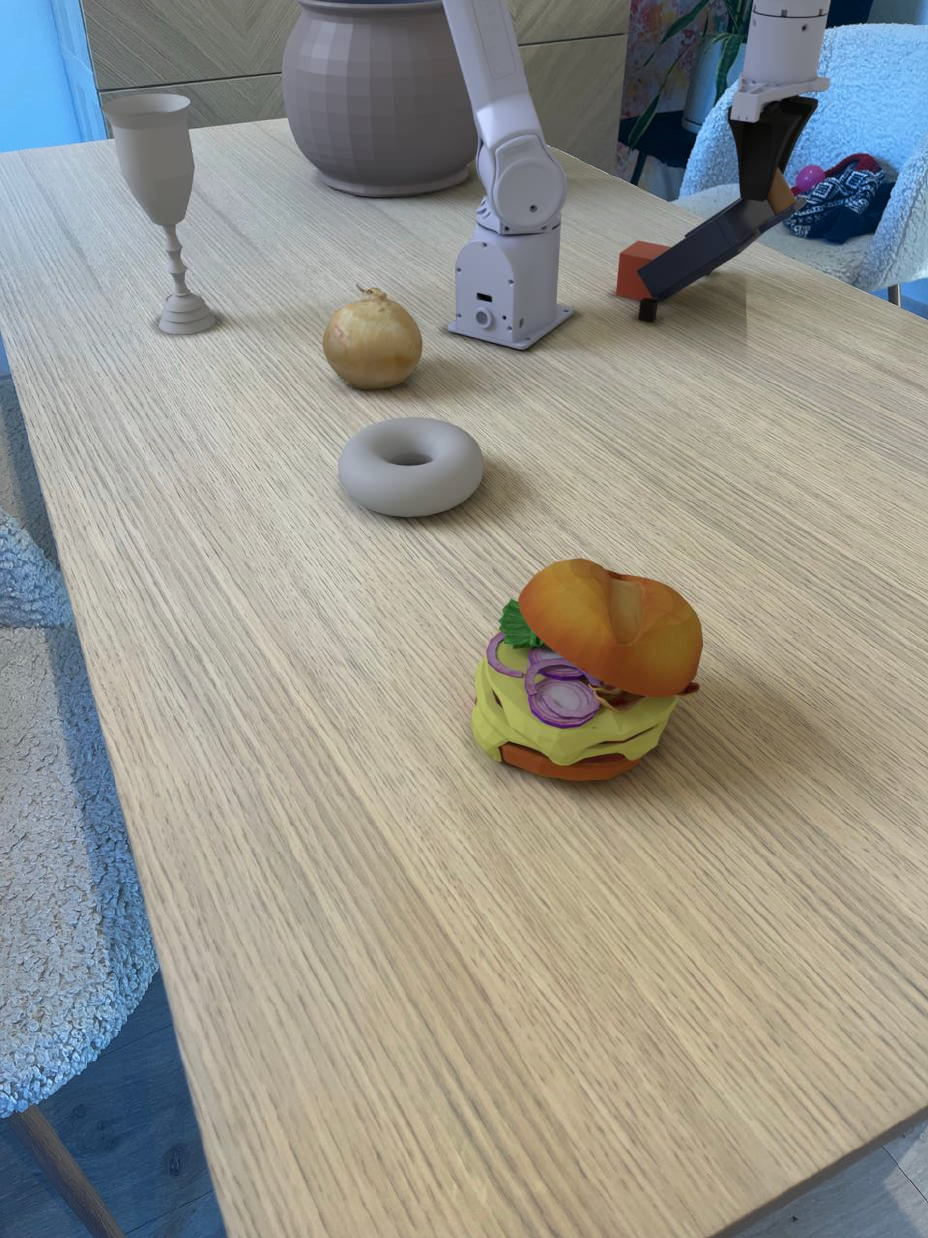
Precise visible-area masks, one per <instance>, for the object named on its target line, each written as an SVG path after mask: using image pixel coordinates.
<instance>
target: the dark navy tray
mask: <svg viewBox="0 0 928 1238" xmlns="http://www.w3.org/2000/svg"><path fill="white" fill-rule="evenodd" d="M807 203H808V201H807V198H806V197H805V196H802V197H800V198H799V199H798V200H797V198H796V196H795V195H794V193H793V191H792V189H791V187H790V185H789V183H788V182H787V180H786V178H785V177H784V175H782V173H781V171H780V169H779V168H778V167H777V170H776V174H775V177H774V180H773V183H772V186H771V189H770V191H769V194H768V196H767V198H766V200H765V201H763V202H761V201H755V200H749V199H743V198H741V197H740V196H739V198H737V199H736V200H735V201H732V202H731V203H730V204H728V205H727V206H725V207H724V208H722V209H721V210H719V211H718V212H716V213H714V214H713V215H712V216H710V217H708V219H706V220H704V221H703V222H702V223H700V224H699V225H697V226H695V227H694V228H693V229H691V230H690V231H688V232H687V233H685V234H684V235H683V236H684V238H683V239H681V240H680V241H679V242H677V243H675V244H674V245H672V246H670V247H671V248H670V249H668V250H667V251H665V252H664V253H662V254H661V255H659V256H658V257H656V258H655V259H653V260H652V261H650V262H649V263H647V264H646V265H644V266H643V267H641V268H640V269H638V270H637V273H638V274H639V276H640V278H641V279H642V281H643V283H644V284H645V286H646V288H647V289H648V291H649V293H650V294H651V296H652V299H653V300H658V305H660V304H661V303H663V302H664V301H666V300H668V299H669V298H671V297H673V296H674V295H676V294H678V293H679V292H681V291H682V290H683V289H687V287H689V286H690V285H692V284H694V283H695V282H697V281H699V280H700V279H701V278H703V277H705V276H706V274H708V273H710V272H711V273H712V272H714V271H715V270H716V269H717V268H719V267H721V266H723V265H724V264H726V263H727V262H729V261H730V260H732V259H734V258H735V257H737V256H739V255H740V254H741V253H742V252H744V250H746V249H747V248H749V246H750V245H752V244H753V243H754V242H755V241H757V240H758V239H759V238H760V237H761V236H762V235H764V234H765V233H766V232H768V231H769V230H770V229H772V228H774V227H775V226H777V225H778V224H780V223H782V222H783V221H785V220H787V219H788V218H790V217H791V216H793V215H794V214H797V212H798V211H800V210H801V209H802V208H804V206H805V205H806V204H807Z"/></svg>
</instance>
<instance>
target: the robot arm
mask: <svg viewBox="0 0 928 1238" xmlns="http://www.w3.org/2000/svg"><path fill="white" fill-rule="evenodd" d="M442 2H443V6H444V9H445V13H446V16H447V20H448V23H449V27H450V30H451V34H452V37H453V41H454V45H455V48H456V52H457V55H458V59H459V62H460V66H461V69H462V73H463V76H464V80H465V83H466V87H467V90H468V94H469V97H470V101H471V105H472V111H473V117H474V121H475V125H476V128H477V133H478V150H477V156H476V157H475V166H476V167H475V168H476V173H477V176H478V179H479V180H480V182H481V184H482V185H483V187H484V189H485V191H486V194H485V196H484V197H483V199H482V201H481V202H480V203H479V207H477V208H476V210H475V226H474V231H473V232H472V233H473V234H472V236H471V238H470V239H469V241H468V242H466V244H465V245H464V246H463V247H462V248H461V250H460V251H459V252H458V254H457V256H456V260H455V268H454V284H455V286H454V288H455V291H454V292H455V319H454V320H453V321H451V322H450V323H448V324H447V331H448V332H451V333H455V334H459V335H463V336H467V337H471V338H475V339H478V340H482V341H486V342H489V343H494V344H497V345H501V346H505V347H508V348H513V349H516V350H521V351H523V350H527V349H528V348H529V347H530V346H532V345H533V344H535V343H536V342H537V341H538V340H540V339H541V338H543V337H544V336H545V335H547V334H548V333H550V332H551V331H553V330H554V329H555V328H556V327H558V326H559V325H560V324H562V323H563V322H565V321H566V320H568V318H570V317H571V316H573V315H574V314H575V309H574V308H573V307H571V306H567V305H563V304H558V303H557V302H558V285H559V283H558V281H559V266H560V249H561V248H560V247H561V230H562V229H561V228H562V212H561V211H562V209H563V208H564V205H565V203H566V201H567V195H568V178H567V174H566V172H565V170H564V168H563V167H564V166H563V165H562V164H561V162H560V161H559V160H558V159H557V157H556V156H555V155H554V154H553V153H552V152H551V151H550V149H549V148H548V145H547V142H546V139H545V136H544V133H543V128H542V125H541V122H540V118H539V117H538V114H537V111H536V110H537V109H536V107H535V104H534V102H533V99H532V96H531V92H530V90H529V85H528V81H527V76H526V73H525V69H524V64H523V60H522V56H521V52H520V49H519V44H518V41H517V40H518V39H517V36H516V32H515V28H514V24H513V23H514V22H513V20H512V16H511V11H510V8H509V4H508V0H442ZM831 2H832V1H831V0H753V2H752V7H751V13H750V20H749V28H748V34H747V40H746V47H745V53H744V61H743V66H742V71H741V72H740V73H739V77H738V82H737V83H738V84H737V85H738V86H737V90H736V91H734V92H733V98H732V104H731V105H730V106H729V107H728V108H727V114H726V121H727V123H728V125H729V128H730V131H731V133H732V137H733V140H734V144H735V149H736V157H737V158H736V159H737V171H738V189H739V198H740V197H741V198H743V199H749V200H755V201H761V202H763V201H765V200H766V198H767V196H768V194H769V191H770V189H771V186H772V183H773V180H774V177H775V174H776V170H777V167H778V168H779V169H780V171H781V173H782V175H783V176H784V174H785V172H786V169H787V166H788V164H789V162H790V159H791V156H792V154H793V151H794V149H795V147H796V144H797V142H798V141H799V138H800V136H801V135H802V132H803V130H804V129H805V128H806V125H807V124H808V122H809V121H810V120H811V117H812V116H813V115H814V114H815V112H816V111H817V108H818V106H819V99H818V98H815V97H810V96H803V95H804V94H808V93H811V92H814V93H823V92H826V91H827V90H828V89H830V85H831V81H832V79H831V78H829V77H822V76H819V75H818V67H819V63H820V57H821V53H822V47H823V42H824V36H825V31H826V26H827V20H828V15H829V11H830V7H831V6H830V5H831Z"/></svg>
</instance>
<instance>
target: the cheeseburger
mask: <svg viewBox="0 0 928 1238" xmlns="http://www.w3.org/2000/svg"><path fill="white" fill-rule="evenodd" d="M501 611H502V614H503V615H502V616H501V617H500V618H499V619H498V622H499V624H500V626H499V628H498V631H497V632H495V634H494V635H493V636H492V638H491V639H490V640H489V643H488V645H487V648H486V650H485V655H484V656H483V657H482V659H481V660H480V661H479V662H478V665H477V667H476V671H475V674H474V692H475V699H474V707H473V708H472V712H471V713H472V714H471V720H470V721H471V724H470V727H471V731H472V734H473V737H474V741H475V743H477V744H478V745H479V746H480V747H481V748H482V750H483V751H484V752H485V753H486V754H487V755H488V756H489V757H490V759H491V760H493V761H495V762H497V763H499V764H500V763H501V762H502V759H503V761H505V762H506V763H507V764H510V765H513V766H515V767H517V768H520V769H523V770H524V771H527V772H530V773H531V774H535V775H537V776H540V777H541V776H542V777H547V778H553V779H561V780H566V781H573V782H580V781H598V780H599V781H601V780H602V781H603V780H605V781H606V780H611V779H612V778H615V777H617V776H619V775H621V774H623V773H625V772H626V771H629V770H631V769H632V768H635V767H637V766H638V765H639V763H640V761H641V760H642V759H643V757H644V755H646V754H647V753H648V752H649V751H651V750H652V749H655V748H656V747H657V746H658V744H659V740H660V737H661V734H662V733H663V731H664V730H665V728H666V726H667V724H668V722H669V721H668V720H669V718H670V716H671V713H672V712H673V711H674V709H675V708H676V705H677V703H678V700H679V698H689V697H691V696H694V695H696V694H698V693H699V691H700V688H701V684H699V683H698V682H697V681H696V682H695V681H694V679H695V678H696V676H697V673H698V669H699V665H700V661H701V657H702V652H703V649H704V640H703V639H704V638H703V637H704V636H703V627H702V622H701V620H700V618H699V615H698V613H697V611H696V610H695V609H694V607H692V605H691V604H690V603H689V602H688V600H686V599H685V598H684V596H682V594H681V593H680V592H679V591H677V590H676V589H674V588H673V587H671V586H669V585H668V584H665V583H664V582H661V581H658V580H655V579H652V578H648V577H646V576H645V577H644V576H639V575H633V574H626V573H618V572H615V571H613V570H610V569H606V568H605V567H604V566H602V565H601V564H600V563H597V562H595V561H593V560H590V559H586V558H582V557H580V558H570V559H564V560H557V561H554V562H553V563H551V564H549V565H548V566H546V567H544V568H542V569H541V570H540V571H538V572H536V573H535V574H534V576H533V577H531V579H530V580H529V581H528V582H527V583H526V585H525V586H524V587H523V589H522V591H521V592H520V594H519V596H518V598H517V600H514V599H512V598H510V599H509V601H508V602H507V603H506V604H505V606H503V608H501Z"/></svg>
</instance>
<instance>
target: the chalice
mask: <svg viewBox="0 0 928 1238" xmlns="http://www.w3.org/2000/svg"><path fill="white" fill-rule="evenodd" d="M190 106H191V99H190V98H188V97H186V96H184V95H180V94H172V93H144V94H135V95H129V96H124V97H119V98H116V99H113V100H110V101H108V102H105V103H104V104H103V105H101V109H100V110H101V111H102V114H104V116H105V117H106V119H107V120H108V122H109V123H110V125H111V131H112V135H113V140H114V144H115V149H116V153H117V154H116V155H117V158H118V163H119V168H120V172H121V176H122V177H123V179H124V181H125V183H126V186H127V187H128V188H129V190H130V192H131V194H132V196H133V198H134V199H135V200H136V202H137V204H138V205H139V206H140V208H141V209H142V211H143V212H144V213H145V214H146V216H147V217H148V219H149V221H150V222H151V223H152V224H154V225H157V226H159V227H160V226H161V227H162V228H163V231H164V234H165V245H164V247H163V250H164V251H165V252H166V253H167V255H168V258H169V259H170V261H169V266H168V268H167V269H166V272H168V273H169V274H170V275H171V277H172V279H173V281H174V290H173V292H172V293H171V294H169V295H167V297H166V298H165V300H164V302H163V303H162V310H161V312H160V316H161V318H160V321H159V322H158V328H159V329H160V330H161V331H162V332H165V333H167V334H172V335H191V334H197V333H200V332H203V331H206V330H208V329H210V328H211V327H213V326H214V325H215V324H216V323H217V319H216V317H215V316H214V315H213V314H212V312H211V309H210V307H209V306H208V305H207V303H206V301H205V299H204V298H203V297H202V296H201V295H200V294H198V293H196V292H194V291H193V292H192V290H191V289H189V288H188V286H187V283H186V279H185V278H186V272H187V270H188V267H187V266H186V265H185V264H184V263H183V261H182V258H181V253H182V249H183V248H184V247H183V245H182V243H180V241H179V238H178V236H177V229H176V228H177V224H179V223H181V222H182V221H184V220H185V218H186V214H187V211H188V206H189V202H190V199H191V194H192V190H193V184H194V183H193V182H194V177H195V168H196V167H195V160H194V153H193V148H192V141H191V136H190V129H189V124H188V118H187V117H188V113H189V110H190Z"/></svg>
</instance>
